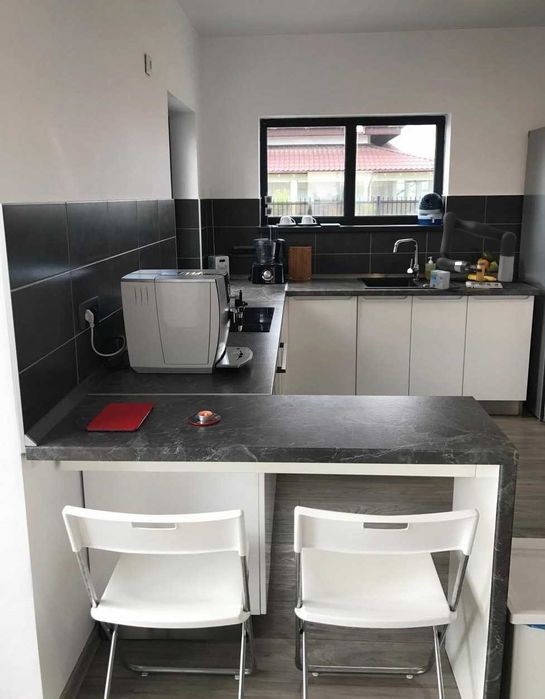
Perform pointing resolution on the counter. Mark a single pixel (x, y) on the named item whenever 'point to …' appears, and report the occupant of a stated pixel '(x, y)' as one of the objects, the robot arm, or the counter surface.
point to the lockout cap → (480, 274)
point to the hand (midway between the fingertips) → (484, 270)
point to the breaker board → (483, 285)
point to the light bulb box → (439, 279)
